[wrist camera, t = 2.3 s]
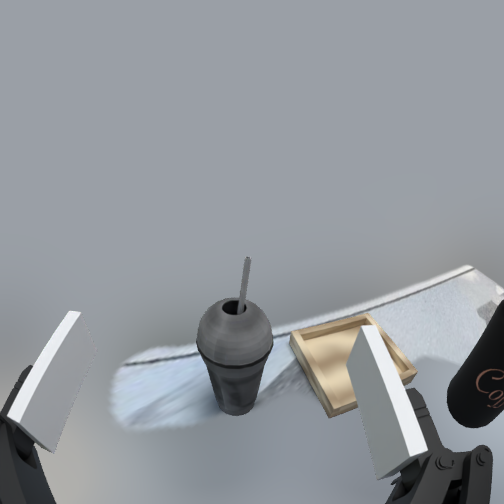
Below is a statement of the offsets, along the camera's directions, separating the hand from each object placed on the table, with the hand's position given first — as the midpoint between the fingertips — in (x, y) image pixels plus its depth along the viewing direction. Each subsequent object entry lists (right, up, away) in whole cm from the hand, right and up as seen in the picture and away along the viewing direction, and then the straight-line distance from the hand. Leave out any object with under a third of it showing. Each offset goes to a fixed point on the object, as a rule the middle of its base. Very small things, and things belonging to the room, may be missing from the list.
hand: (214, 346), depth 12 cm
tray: (+16, -12, +24) cm, 31 cm away
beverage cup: (0, -14, +19) cm, 24 cm away
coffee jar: (+34, -18, +14) cm, 41 cm away
